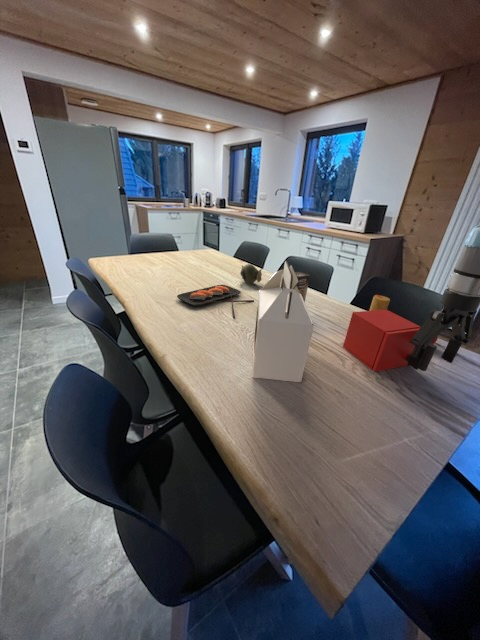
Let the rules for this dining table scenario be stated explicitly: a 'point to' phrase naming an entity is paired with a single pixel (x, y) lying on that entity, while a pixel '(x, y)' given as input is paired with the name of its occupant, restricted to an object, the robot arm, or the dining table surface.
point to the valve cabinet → (372, 333)
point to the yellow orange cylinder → (379, 303)
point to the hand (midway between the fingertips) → (429, 363)
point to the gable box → (281, 329)
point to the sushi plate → (210, 295)
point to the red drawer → (400, 351)
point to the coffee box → (302, 283)
